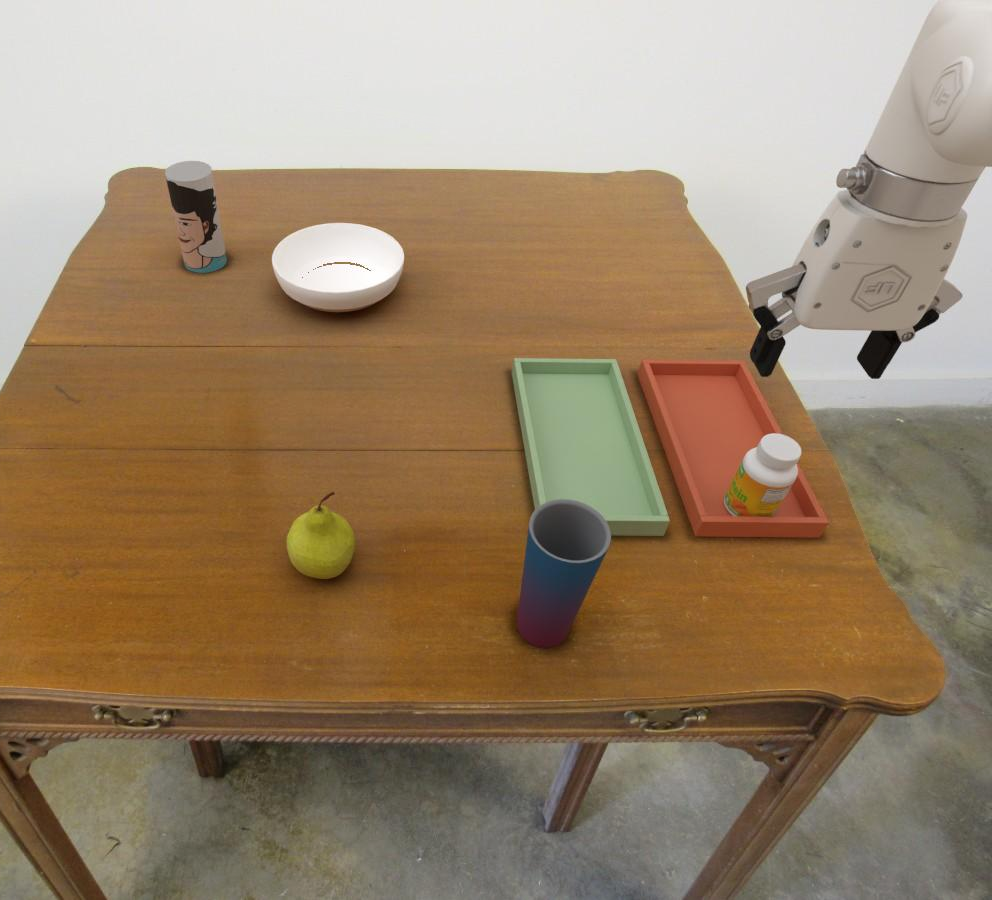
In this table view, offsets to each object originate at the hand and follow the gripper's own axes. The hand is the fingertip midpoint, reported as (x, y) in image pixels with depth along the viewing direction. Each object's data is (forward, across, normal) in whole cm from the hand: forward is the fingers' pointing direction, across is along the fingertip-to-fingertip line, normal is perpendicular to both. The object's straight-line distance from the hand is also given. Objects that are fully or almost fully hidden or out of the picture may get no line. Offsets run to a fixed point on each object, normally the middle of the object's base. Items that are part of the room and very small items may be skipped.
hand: (813, 368), depth 67 cm
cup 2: (+22, -23, -14) cm, 34 cm away
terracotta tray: (+22, +2, +12) cm, 25 cm away
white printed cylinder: (+21, -68, +52) cm, 89 cm away
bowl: (+21, -46, +44) cm, 68 cm away
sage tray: (+22, -15, +12) cm, 29 cm away
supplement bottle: (+21, +2, +2) cm, 21 cm away
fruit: (+22, -45, -7) cm, 50 cm away
